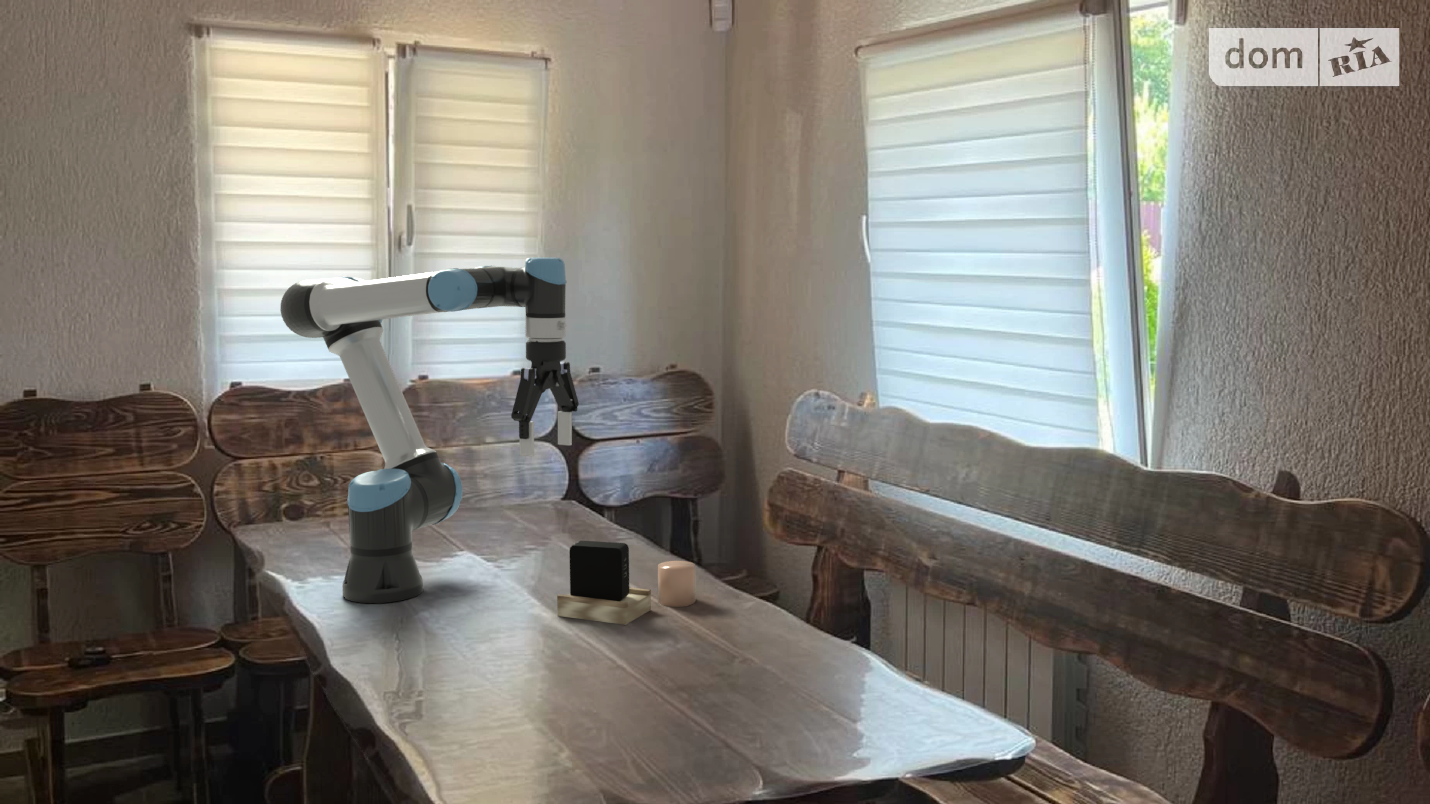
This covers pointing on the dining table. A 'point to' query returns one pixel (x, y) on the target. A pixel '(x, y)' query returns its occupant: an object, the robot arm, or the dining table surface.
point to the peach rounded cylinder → (676, 583)
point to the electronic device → (599, 570)
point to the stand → (606, 607)
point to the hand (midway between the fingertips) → (546, 450)
